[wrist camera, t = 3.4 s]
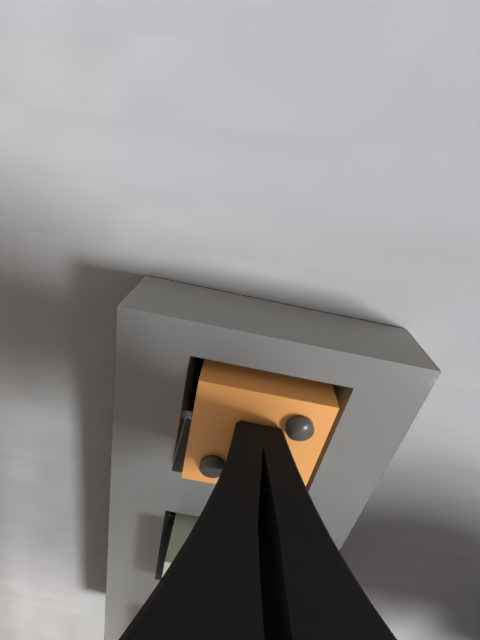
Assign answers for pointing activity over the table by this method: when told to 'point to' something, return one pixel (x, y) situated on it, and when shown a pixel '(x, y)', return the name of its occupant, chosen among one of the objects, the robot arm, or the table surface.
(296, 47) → the table surface
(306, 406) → the button three orange
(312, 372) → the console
